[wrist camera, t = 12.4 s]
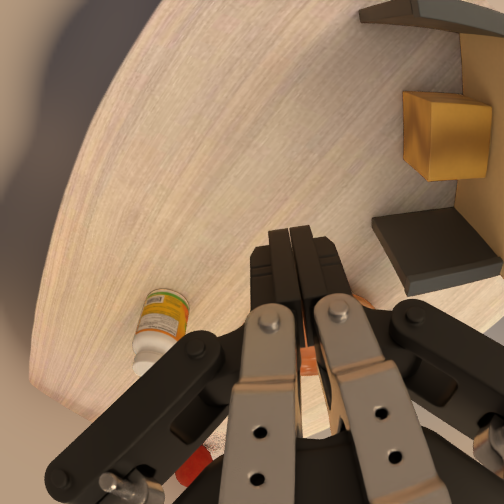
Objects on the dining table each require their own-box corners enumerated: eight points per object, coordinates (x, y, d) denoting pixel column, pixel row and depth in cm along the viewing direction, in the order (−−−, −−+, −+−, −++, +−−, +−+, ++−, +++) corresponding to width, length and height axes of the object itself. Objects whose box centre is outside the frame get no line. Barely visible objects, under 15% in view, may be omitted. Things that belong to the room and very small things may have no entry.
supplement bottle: (180, 324, 38) (168, 390, 30) (141, 308, 36) (121, 373, 29) (197, 299, 35) (185, 370, 28) (154, 280, 34) (132, 350, 26)
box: (402, 91, 21) (431, 102, 17) (459, 93, 21) (492, 106, 17) (402, 159, 25) (428, 182, 21) (457, 156, 25) (485, 178, 21)
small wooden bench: (371, 229, 30) (435, 361, 17) (357, 7, 17) (489, -22, 4) (459, 216, 29) (540, 322, 16) (466, 21, 16) (607, 46, 3)
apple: (169, 441, 67) (163, 488, 56) (198, 437, 64) (194, 489, 53) (194, 452, 73) (191, 495, 61) (223, 448, 69) (222, 495, 58)
